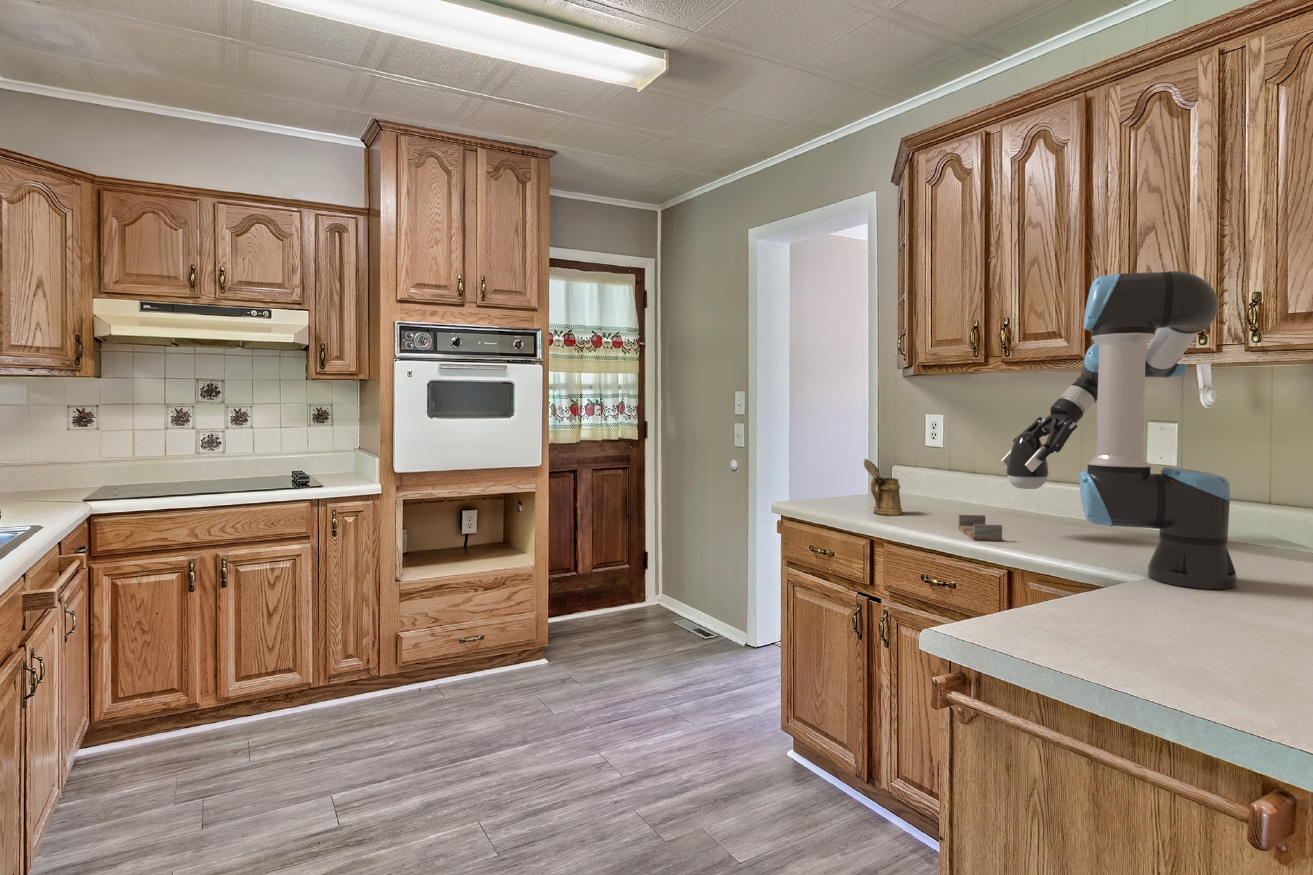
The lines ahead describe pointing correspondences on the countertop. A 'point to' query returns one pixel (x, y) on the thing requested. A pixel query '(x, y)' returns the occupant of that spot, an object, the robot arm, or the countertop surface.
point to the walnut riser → (979, 528)
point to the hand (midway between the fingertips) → (1016, 466)
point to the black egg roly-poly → (1018, 458)
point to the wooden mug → (884, 492)
